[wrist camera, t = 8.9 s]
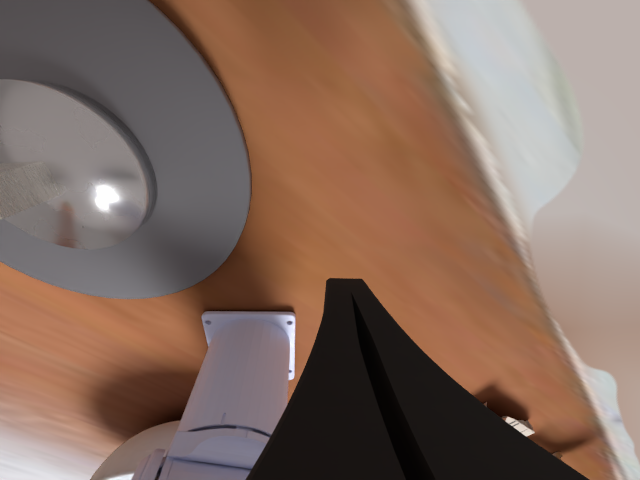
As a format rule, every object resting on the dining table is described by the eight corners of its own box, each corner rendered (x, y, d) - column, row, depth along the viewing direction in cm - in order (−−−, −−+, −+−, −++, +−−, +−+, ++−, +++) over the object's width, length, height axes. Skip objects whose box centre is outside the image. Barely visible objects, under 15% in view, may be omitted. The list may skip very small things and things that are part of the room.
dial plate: (260, 292, 22) (257, 303, 20) (1, 288, 20) (-17, 300, 19) (235, -45, 12) (228, -59, 11) (-276, -99, 10) (-348, -122, 9)
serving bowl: (88, 398, 28) (29, 481, 22) (280, 386, 29) (274, 463, 23) (154, 475, 38) (127, 546, 32) (295, 465, 39) (293, 532, 33)
